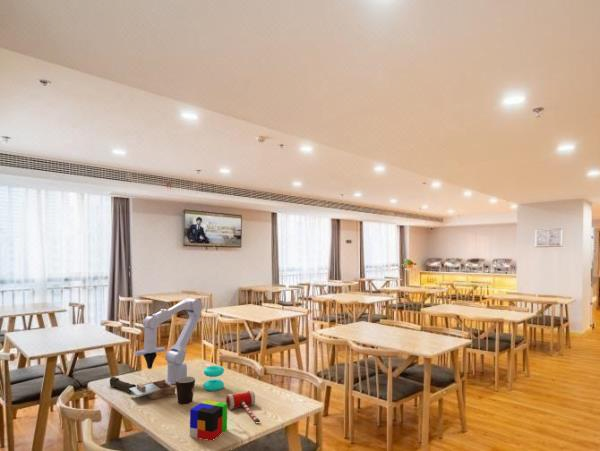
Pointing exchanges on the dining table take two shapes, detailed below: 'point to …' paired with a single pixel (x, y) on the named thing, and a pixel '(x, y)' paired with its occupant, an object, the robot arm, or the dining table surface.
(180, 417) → the dining table surface
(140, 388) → the lid
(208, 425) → the puzzle toy
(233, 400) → the toy hammer
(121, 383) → the dark brown wooden log
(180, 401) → the coffee mug
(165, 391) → the wooden tray
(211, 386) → the donuts
